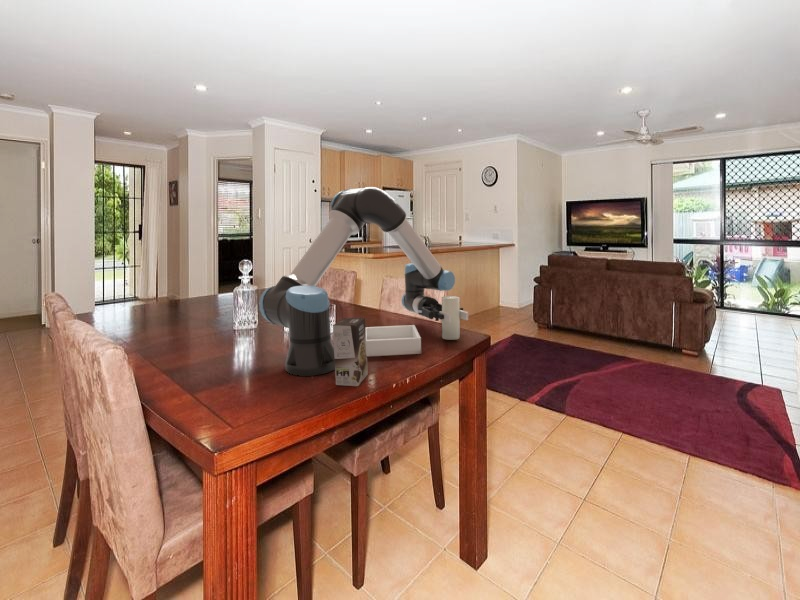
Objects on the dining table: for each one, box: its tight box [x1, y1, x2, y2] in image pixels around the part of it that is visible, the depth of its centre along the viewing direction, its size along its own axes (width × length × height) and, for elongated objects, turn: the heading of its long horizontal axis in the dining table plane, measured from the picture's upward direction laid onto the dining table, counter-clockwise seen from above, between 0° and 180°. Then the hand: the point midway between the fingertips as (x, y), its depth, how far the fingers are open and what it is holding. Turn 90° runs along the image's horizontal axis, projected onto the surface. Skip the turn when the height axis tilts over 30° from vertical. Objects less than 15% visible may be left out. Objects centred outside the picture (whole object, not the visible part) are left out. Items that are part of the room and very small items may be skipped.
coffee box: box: [332, 317, 368, 387], centre depth 114 cm, size 9×6×16 cm
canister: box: [441, 295, 461, 341], centre depth 149 cm, size 6×6×14 cm
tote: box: [365, 324, 422, 357], centre depth 144 cm, size 18×18×5 cm
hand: (458, 317), depth 144 cm, fingers closed on canister, 6 cm apart
